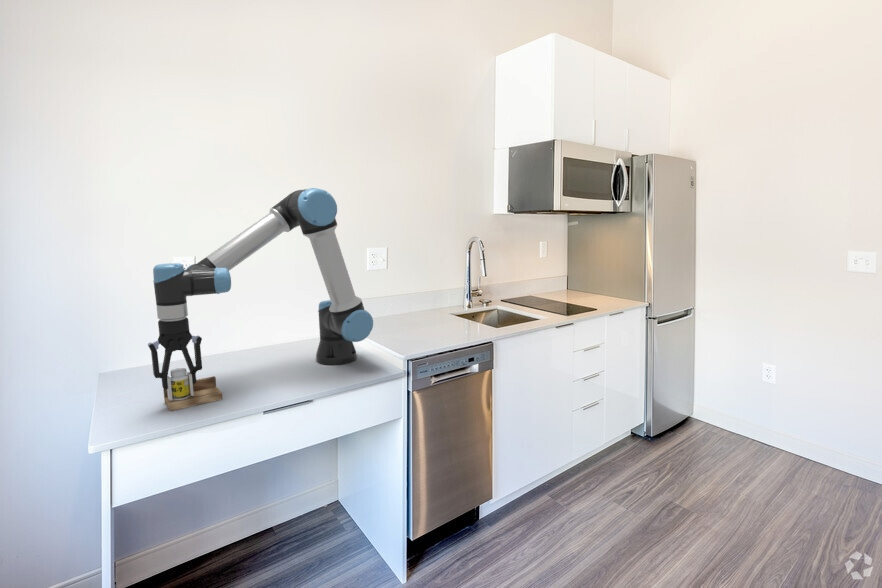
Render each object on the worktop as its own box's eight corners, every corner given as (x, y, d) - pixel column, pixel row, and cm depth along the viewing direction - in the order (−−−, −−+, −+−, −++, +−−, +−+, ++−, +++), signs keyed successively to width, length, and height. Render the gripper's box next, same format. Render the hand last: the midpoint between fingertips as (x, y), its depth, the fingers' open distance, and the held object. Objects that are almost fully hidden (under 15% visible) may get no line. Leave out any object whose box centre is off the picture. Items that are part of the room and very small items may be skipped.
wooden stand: (215, 391, 148) (214, 376, 148) (222, 399, 142) (221, 383, 142) (164, 402, 140) (163, 386, 139) (169, 411, 134) (168, 394, 133)
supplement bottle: (168, 400, 136) (165, 372, 134) (177, 394, 140) (175, 367, 139) (184, 400, 136) (181, 372, 134) (193, 394, 140) (190, 367, 139)
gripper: (204, 312, 142) (210, 386, 146) (134, 320, 131) (143, 400, 135) (210, 316, 137) (217, 393, 141) (138, 325, 126) (147, 408, 130)
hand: (180, 396), depth 138 cm, fingers closed on supplement bottle, 5 cm apart
